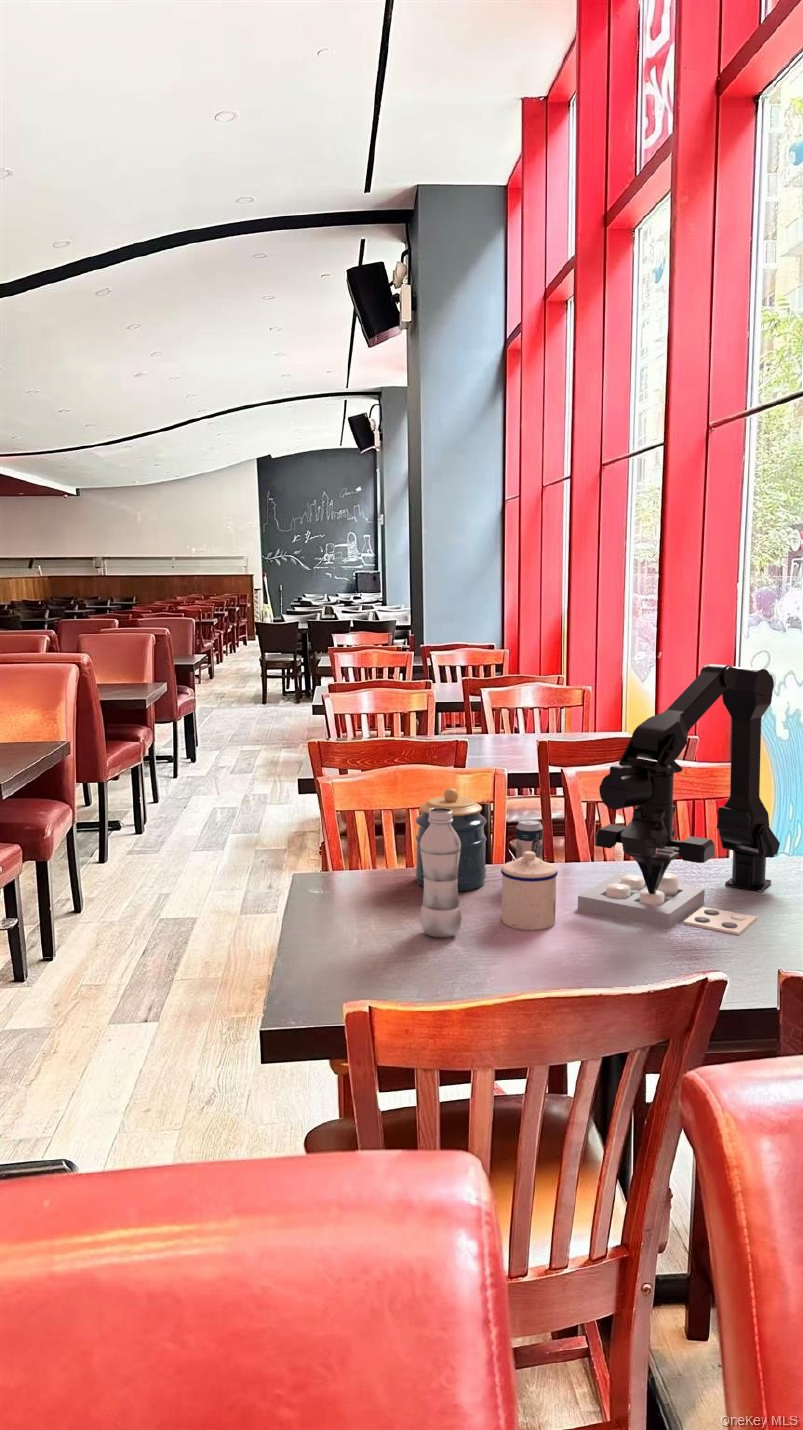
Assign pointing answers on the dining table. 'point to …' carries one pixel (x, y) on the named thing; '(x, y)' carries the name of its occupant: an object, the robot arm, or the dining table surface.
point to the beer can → (529, 838)
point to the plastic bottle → (440, 875)
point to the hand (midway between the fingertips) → (652, 893)
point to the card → (720, 920)
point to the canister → (469, 833)
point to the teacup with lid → (528, 893)
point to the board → (641, 904)
